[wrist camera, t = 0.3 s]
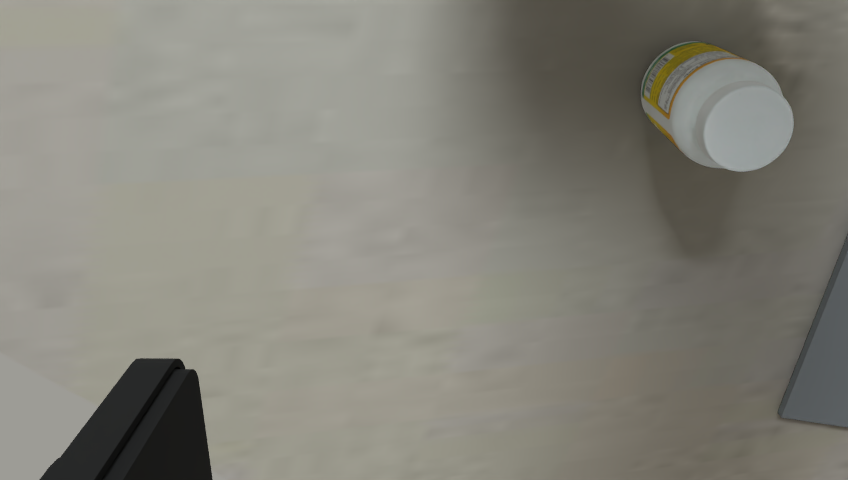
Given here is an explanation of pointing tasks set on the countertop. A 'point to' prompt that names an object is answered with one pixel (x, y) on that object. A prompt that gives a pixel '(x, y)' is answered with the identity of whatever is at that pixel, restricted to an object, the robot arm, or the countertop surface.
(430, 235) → the countertop surface
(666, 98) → the supplement bottle
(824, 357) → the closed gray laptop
